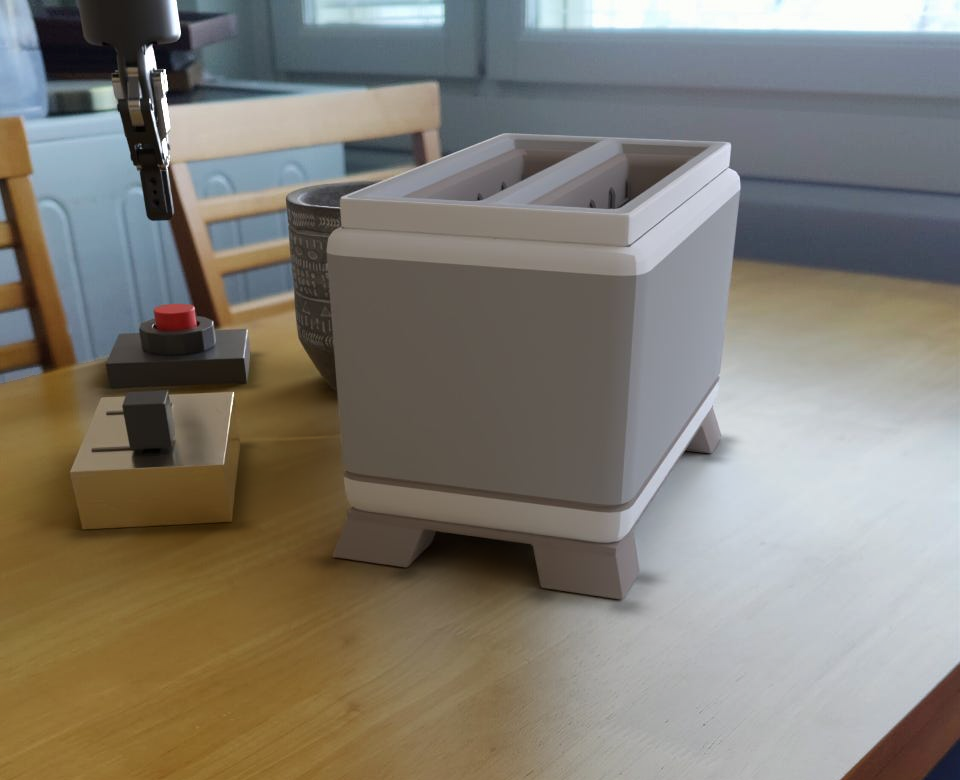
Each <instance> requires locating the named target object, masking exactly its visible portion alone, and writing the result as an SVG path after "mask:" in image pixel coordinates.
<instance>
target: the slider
mask: <svg viewBox="0 0 960 780" xmlns="http://www.w3.org/2000/svg"><path fill="white" fill-rule="evenodd" d="M125 394H126V395H125V396H124V397H125V399H124V402H123V405H122V408H123V413H124V419H125V424H126V430H127V435H128V440H129V446H130V449H131V450H138V449H159V448H172V444H173V440H174V436H175V428H174V422H173V416H172V410H171V403H170V397H169V395H170V392H169V390H168V389H165V390H164V389H163V390H160V389H159V390H141V391H137V390H136V391H126V393H125Z"/></svg>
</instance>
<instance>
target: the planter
mask: <svg viewBox="0 0 960 780" xmlns="http://www.w3.org/2000/svg"><path fill="white" fill-rule="evenodd" d="M383 180H384V179H371V180H369V179H367V180H354V181H353V180H352V181H342V182H331V183H322V184H313V185H309V186H305V187H301V188H298V189H296V190H293V191H291V192H289V193H288V194H287V195H286V196H285V205H286V215H287V223H288V227H287V228H288V242H289V243H288V244H289V255H290V256H289V257H290V266H291V274H292V275H291V276H292V282H293V283H292V284H293V288H294V289H293V295H294V299H293V300H294V312H295V323H296V331H297V338H298V340H299V342H300V344H301V346H302V348H303V349H304V351H305V353H306V354H307V356H308V357H309V359H310V360H311V362H312V364H313V365H314V367H315V368H316V369H317V371H318V372H319V375H320V376H321V377H322V378H323V379H324V381H325V382H326V384H327V385H328V386H329V388H330V389H332V390H334V391H336V392H337V381H336V368H335V355H334V342H333V329H332V316H331V303H330V290H329V277H328V264H327V243H328V238H329V236H330V235H331V233H332V232H333V231H334V230H336V229H337V228H340V227H342V226H341V212H340V199H341V197H343V196H345V195H348V194H350V193H353V192H355V191H358V190H360V189H363V188H366V187H368V186H371V185H373V184H376V183H378V182H381V181H383Z"/></svg>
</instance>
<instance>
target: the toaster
mask: <svg viewBox="0 0 960 780" xmlns="http://www.w3.org/2000/svg"><path fill="white" fill-rule="evenodd" d="M731 152H732V144H731V142H729V141H728V142H727V141H710V140H709V141H708V140H707V141H706V140H704V141H703V140H682V139H680V140H679V139H656V138H655V139H654V138H631V137H630V138H629V137H610V136H609V137H608V136H583V135H582V136H581V135H557V134H556V135H554V134H534V133H533V134H531V133H508V132H507V133H501V134H498V135H496V136H493V137H491V138H488V139H486V140H483V141H480V142H478V143H475V144H473V145H471V146H467V147H466V148H462V149H461V150H457V151H455V152H452V153H450V154H448V155H445V156H442V157H439V158H437V159H435V160H432V161H429V162H426V163H424V164H422V165H419V166H417V167H414V168H412V169H409V170H407V171H404V172H400V173H399V174H396V175H394V176H391V177H388V178H386V179H382V180H383V181H381V182H378V183H376V184H373V185H371V186H368V187H366V188H363V189H360V190H358V191H355V192H353V193H350V194H348V195H345V196H343V197H341V199H340V212H341V226H342V227H340V228H337V229H336V230H334V231H333V232H332V233H331V235H330V236H329V238H328V243H327V264H328V277H329V290H330V303H331V316H332V329H333V342H334V355H335V368H336V381H337V391H336V393H337V406H338V420H339V430H340V431H339V432H340V446H341V459H342V468H343V470H344V472H343V484H344V491H345V496H346V499H347V503H348V504H349V505H350V506H351V507H350V508H348V510H347V511H346V519H345V522H344V524H343V527H342V528H341V529H342V530H341V533H340V535H339V538H338V540H337V544H336V546H335V549H334V551H333V554H332V557H333V558H337V559H344V560H349V561H350V560H351V561H358V562H364V563H372V564H379V565H386V566H393V567H400V568H409V567H410V566H411V564H413V562H415V560H416V559H418V557H419V556H421V554H422V553H423V552H424V551H425V550H426V549H427V548H428V547H429V546H430V545H431V544H432V542H433V540H434V538H435V535H436V533H437V532H440V533H448V534H455V535H462V536H469V537H477V538H484V539H492V540H497V541H498V540H499V541H505V542H513V543H520V544H528V545H531V546H532V548H533V549H532V550H533V553H534V558H535V563H536V569H537V570H536V571H537V575H538V580H539V585H540V587H541V589H542V588H543V589H549V590H555V591H561V592H569V593H575V594H582V595H588V596H595V597H602V598H609V599H614V600H624V599H625V598H626V596H627V595H628V593H629V591H630V589H631V587H632V586H633V584H634V583H635V581H636V579H637V578H638V576H639V574H640V571H641V570H640V565H639V559H638V558H639V557H638V553H637V552H638V551H637V547H636V540H635V535H634V530H635V528H636V526H637V524H638V522H639V521H640V520H641V518H642V517H643V515H644V514H645V512H646V510H647V509H648V507H649V506H650V504H651V503H652V501H653V500H654V498H655V497H656V495H657V494H658V493H659V491H660V489H661V488H662V486H663V484H665V481H666V480H667V479H668V477H669V476H670V474H671V472H672V471H673V470H674V469H675V466H676V465H677V464H678V462H679V461H680V459H681V457H683V454H684V453H685V451H686V452H694V453H703V454H704V453H705V454H713V452H714V451H715V449H716V447H717V445H718V444H719V442H720V440H721V438H722V437H723V436H722V432H721V430H720V429H721V428H720V426H719V423H718V419H717V417H716V413H715V410H714V404H715V403H716V400H717V397H718V393H719V387H720V378H721V377H720V374H721V369H722V361H723V350H724V343H725V342H724V341H725V332H726V325H727V316H728V315H727V314H728V306H729V296H730V286H731V277H732V271H733V269H732V268H733V261H734V251H735V241H736V233H737V226H738V225H737V223H738V216H739V215H738V214H739V205H740V199H741V198H740V197H741V189H742V188H741V178H740V175H739V174H738V172H737V171H736V170H734V169H731V168H730V162H731Z"/></svg>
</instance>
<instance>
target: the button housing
mask: <svg viewBox="0 0 960 780" xmlns="http://www.w3.org/2000/svg"><path fill="white" fill-rule="evenodd" d="M195 316H196V323H197V327H195V328H191V329H186V330H179V331H164V330H157V329H156V323H155V318H150V319H148V320H146V321H144V322H141V323H140V325H139V327H138V332H130V333H129V332H127V333H119V334H117V337H116V340H115V342H114V344H113V346H112V348H111V351H110V352H109V355H108V357H107V360H106V362H105V368H106V373H107V374H106V375H107V379H108V380H107V381H108V384H109V389H110V390H115V389H116V390H117V389H118V390H119V389H139V388H161V387H162V388H163V387H164V388H165V387H185V386H208V385H209V386H211V385H213V386H214V385H233V384H234V385H235V384H236V385H237V384H247V383H248V378H249V369H250V361H251V360H250V359H251V345H250V336H249V329H248V328H233V329H231V328H230V329H215V323H214V320H212V319H210V318H209V317H208V318H207V317H206V316H200V315H195Z"/></svg>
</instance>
